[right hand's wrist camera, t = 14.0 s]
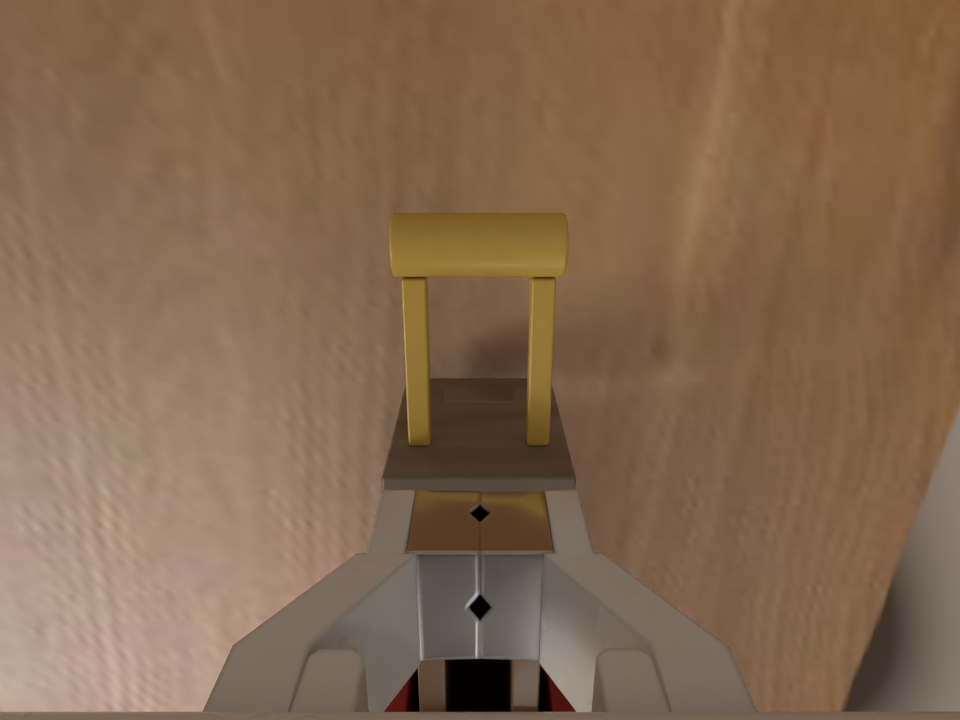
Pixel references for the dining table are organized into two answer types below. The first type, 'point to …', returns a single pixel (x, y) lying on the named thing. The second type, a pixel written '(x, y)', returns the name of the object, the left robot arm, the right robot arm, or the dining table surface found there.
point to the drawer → (478, 409)
